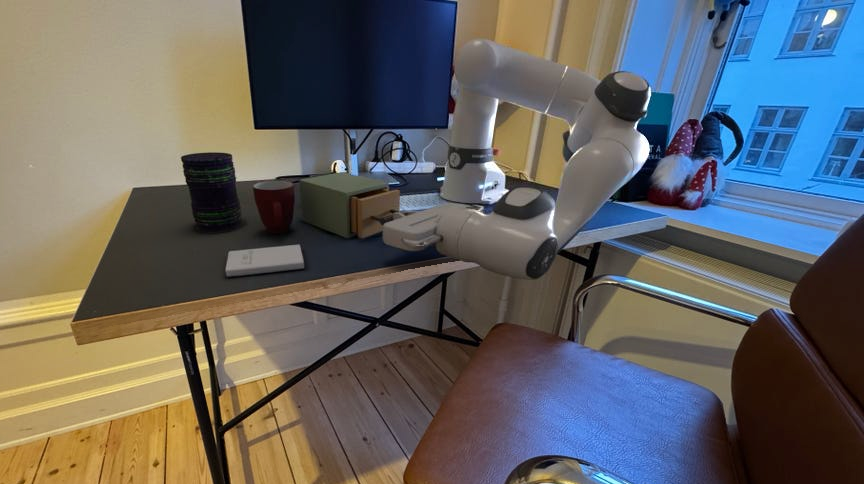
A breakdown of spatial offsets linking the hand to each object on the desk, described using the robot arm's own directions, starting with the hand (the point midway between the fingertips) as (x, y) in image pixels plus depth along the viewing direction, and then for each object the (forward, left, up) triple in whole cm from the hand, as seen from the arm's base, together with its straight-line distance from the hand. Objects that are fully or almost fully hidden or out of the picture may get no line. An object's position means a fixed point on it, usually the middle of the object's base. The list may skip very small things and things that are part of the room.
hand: (397, 215), depth 73 cm
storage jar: (+27, -30, -6) cm, 40 cm away
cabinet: (+3, -16, -6) cm, 17 cm away
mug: (+18, -18, -6) cm, 26 cm away
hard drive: (+26, -5, -6) cm, 27 cm away
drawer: (+2, -9, -5) cm, 11 cm away
